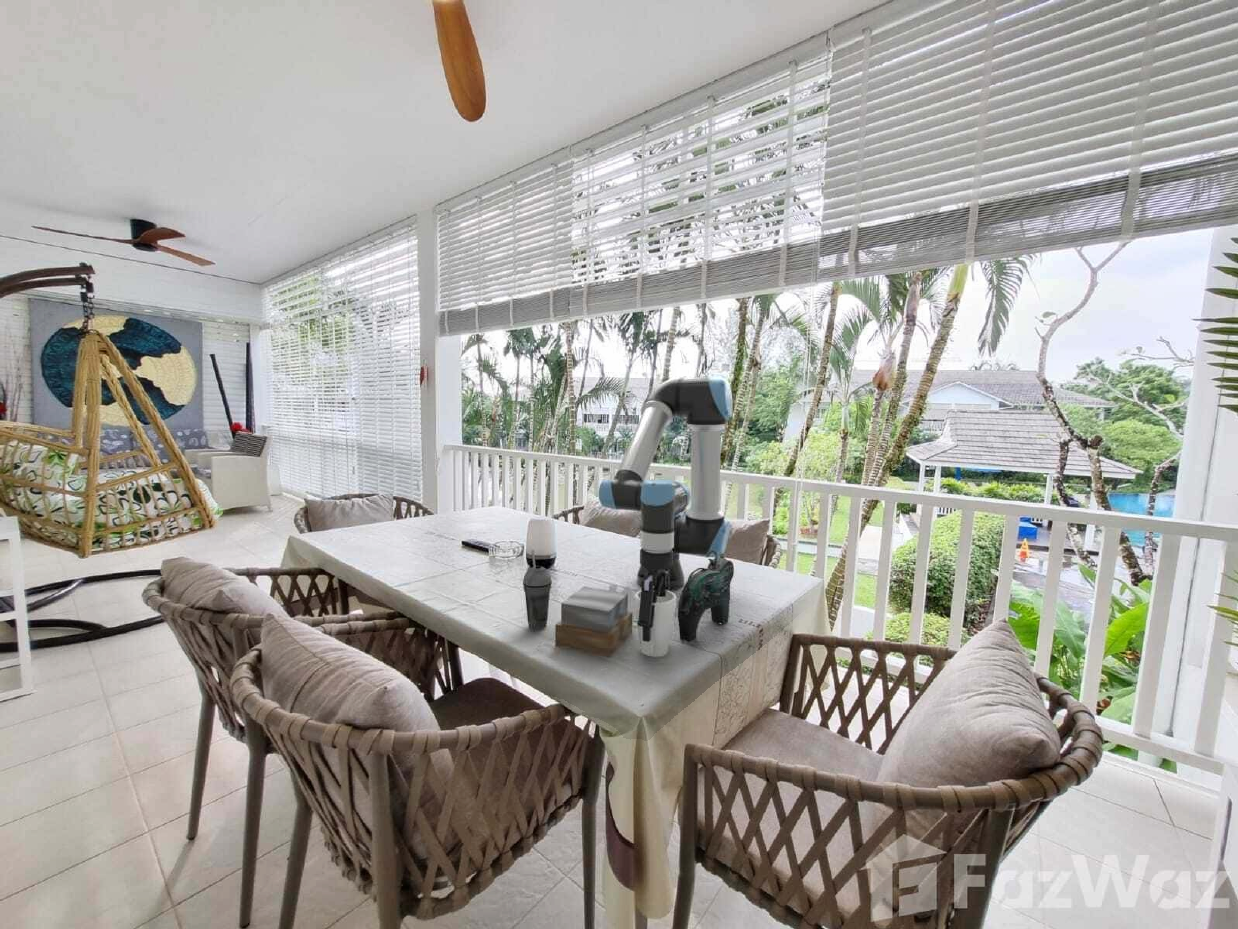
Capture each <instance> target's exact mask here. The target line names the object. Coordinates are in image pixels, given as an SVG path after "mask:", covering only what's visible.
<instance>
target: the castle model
mask: <svg viewBox="0 0 1238 929" xmlns="http://www.w3.org/2000/svg"><path fill="white" fill-rule="evenodd" d="M617 589H618V585H616V584H613V585H612V584H610V585H609V586H608V590H609V591H615V592H617ZM621 593H628V609H627V611H629V612H633V618H632V627H638V624H637V615H636V607H635V595H634V589H633V588H632V587H629V586H627V587H625V588H623V590H622V591H621Z"/></svg>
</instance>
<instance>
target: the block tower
mask: <svg viewBox="0 0 1238 929" xmlns="http://www.w3.org/2000/svg"><path fill="white" fill-rule="evenodd" d="M560 605H561V606H560V607H561V608H560V609H561V610H560V613H561V614H560V620H559V621H558V622H557V623H555V627H554V629H555V630H554V632H555V633H554V634H555V635H554V637H555V638H554V639H555V640H554V641H555V642H554V644H555V646H557V647H562V648H566V647H567V648H566V649H570V650H571V649H572V650H575V651H576V650H577V651H580V650H581V651H580V652H584V653H585V652H586V653H590V654H595V655H600V656H604V657H608V658H611V657H612V656H613V655H614V654H615V653H616V651H617V650H618V649H619V648H620V647H621V646H622V644H623V643H624V642H625V641H626V640H627V638H628V637H629V636H630V635H631V634H632V633H633V626H632V622H633V621H632V618H633V612H629V611H627V609H628V593H622V591H616V592H615V591H610V590H609V589H607V590H606V589H604V588H603V589H601V588H596V587H589V586H583V587H581V588H580V589H579V590H577V591H575V592H574V593H573V594H571V595H570V596H568V598H566V599H565V600H563V601H562V602H561V604H560Z"/></svg>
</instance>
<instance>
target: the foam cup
mask: <svg viewBox="0 0 1238 929" xmlns="http://www.w3.org/2000/svg"><path fill="white" fill-rule="evenodd" d="M634 596H635V607H636V615H637V621H636V622H638V619H639V609H640V599H641V589H640V590H638V591H636V593H635V594H634ZM654 604H655V608H654V620H653V625H654V654H653V655H649V654H644V653H642V654H643V655H645V656H647V657H653V658H654V657H655V658H659V657H664V656H665V655H667V654H668V651H669V648H670V641H671V635H672V629H673V622H674V615H675V610H676V607H677V595H676V594H675V593H674V592H672V591H671V590H670V591H668V590H666V591H665V597H657V602H656V603H652V605H654ZM637 630H638V640H639V648H640V651H641V632H642V627H640V626H637Z"/></svg>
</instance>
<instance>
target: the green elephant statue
mask: <svg viewBox="0 0 1238 929" xmlns="http://www.w3.org/2000/svg"><path fill="white" fill-rule="evenodd" d="M712 552H714V553H715V556H716V557H715V558H710V557H709V555H710V553H712ZM707 557H708V561H709V562H708V565H707V567H706V568H705V567H698V568H696V569H694V570H693V571H692V572H691V573H689V576H688V578H687V581H686V582H685V583H684V585H683V586H682V587H683V588H682V590H681V593H680V597H679V601H678V603H677V604H678V606H677V620H678V628H679V639H680V640H681V641H684V642H687V643H691V642H693V641H695V640H696V639H697V635H698V634H697V633H698V628H699V623H700V621H701V618H702V616H703V615H704V613H705V612H706V611H707V610H709V609H710V614H711V615H710V616H711V621H712V622H713V621H714V623H715V622H716V624H718V623H721V624H722V625H723V624H725V623H727V622H728V621H729V616H730V615H729V614H730V601H731V582H732V580H733V577H734V575H735V574H734V573H735V567H734V566H735V565H734V563H733V561H731V560H729V559H727V558H726V557H725V556H724V553H723V554H722V553H721V556H720V557H719V558H717V554H716V552H715V551H712V550H711V551H709V552H708V554H707ZM726 621H727V622H726ZM721 624H720V625H721Z"/></svg>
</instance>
